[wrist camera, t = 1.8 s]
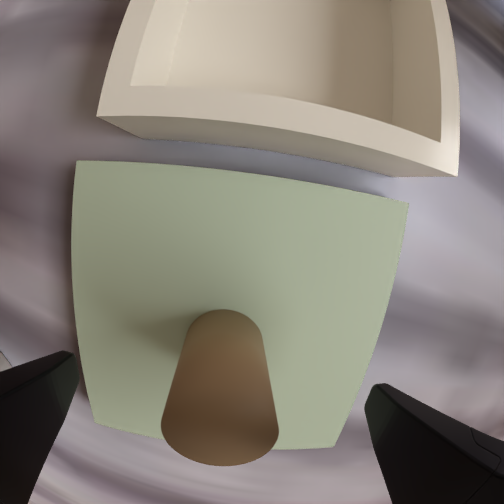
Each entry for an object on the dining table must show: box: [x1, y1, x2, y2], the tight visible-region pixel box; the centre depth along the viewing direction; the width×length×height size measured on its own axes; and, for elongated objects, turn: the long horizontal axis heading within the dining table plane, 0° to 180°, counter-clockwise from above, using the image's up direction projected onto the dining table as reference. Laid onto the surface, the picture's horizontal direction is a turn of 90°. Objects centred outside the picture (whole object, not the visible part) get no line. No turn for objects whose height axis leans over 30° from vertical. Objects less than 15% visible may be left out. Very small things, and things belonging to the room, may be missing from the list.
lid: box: [71, 160, 409, 466], centre depth 9 cm, size 12×12×6 cm
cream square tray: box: [96, 0, 460, 177], centre depth 7 cm, size 10×10×4 cm
